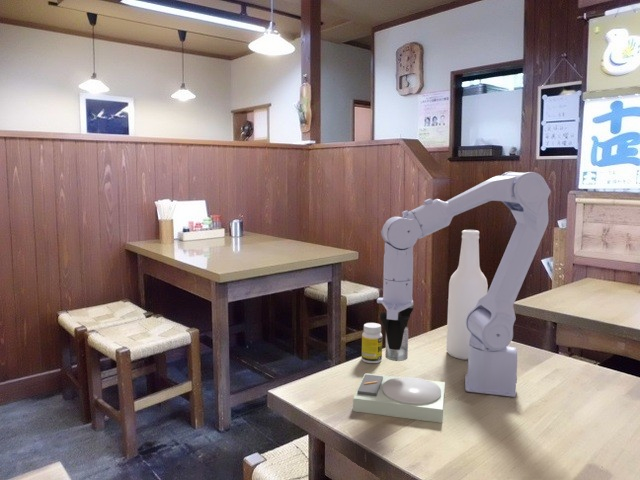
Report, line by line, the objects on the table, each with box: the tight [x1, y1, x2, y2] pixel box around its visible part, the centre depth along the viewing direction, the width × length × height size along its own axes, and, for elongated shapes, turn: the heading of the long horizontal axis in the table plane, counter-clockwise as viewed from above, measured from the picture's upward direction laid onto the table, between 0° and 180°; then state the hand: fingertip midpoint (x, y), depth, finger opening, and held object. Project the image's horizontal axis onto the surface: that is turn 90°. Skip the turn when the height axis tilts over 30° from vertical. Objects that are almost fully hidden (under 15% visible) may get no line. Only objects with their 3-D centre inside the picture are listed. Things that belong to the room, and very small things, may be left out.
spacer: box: [385, 326, 409, 362], centre depth 102 cm, size 4×4×6 cm
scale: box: [352, 373, 446, 424], centre depth 98 cm, size 16×12×3 cm
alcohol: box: [445, 229, 489, 361], centre depth 121 cm, size 9×9×30 cm
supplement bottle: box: [361, 322, 383, 364], centre depth 119 cm, size 5×5×8 cm
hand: (396, 344), depth 102 cm, fingers closed on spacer, 4 cm apart
